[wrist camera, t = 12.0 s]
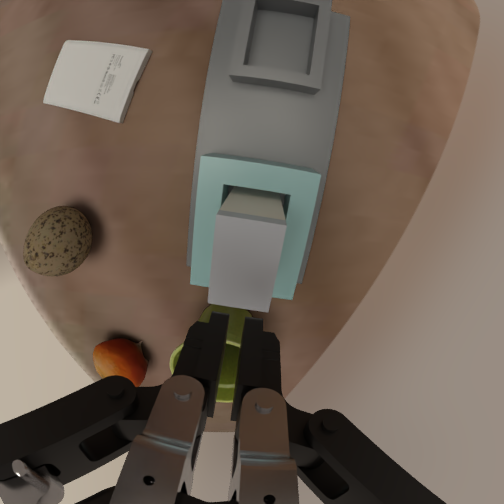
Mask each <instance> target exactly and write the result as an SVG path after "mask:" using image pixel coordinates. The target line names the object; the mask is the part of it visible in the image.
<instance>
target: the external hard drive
mask: <svg viewBox="0 0 504 504" xmlns="http://www.w3.org/2000/svg"><path fill="white" fill-rule="evenodd" d="M151 53H152V51H151V50H150V49H145V48H139V47H134V46H128V45H121V44H113V43H105V42H94V41H78V40H67V41H66V42H65V43H64V45H63V47H62V50H61V52H60V54H59V57H58V59H57V62H56V64H55V67H54V69H53V72H52V75H51V78H50V80H49V84H48V86H47V90H46V92H45V96H44V100H43V103H45V104H50V105H54V106H58V107H62V108H66V109H71V110H74V111H78V112H82V113H86V114H89V115H93V116H97V117H100V118H104V119H107V120H111V121H114V122H117V123H123V121H124V118H125V115H126V112H127V110H128V107H129V104H130V102H131V99H132V96H133V94H134V92H133V90H134V88H135V85H136V83H137V81H138V80H139V79H140V77H141V75H142V73H143V70H144V68H145V66H146V64H147V62H148V59H149V57H150V55H151Z"/></svg>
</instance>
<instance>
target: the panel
mask: <svg viewBox="0 0 504 504" xmlns="http://www.w3.org/2000/svg"><path fill="white" fill-rule="evenodd" d="M331 6H332V0H223V2H222V6H221V10H220V14H219V19H218V23H217V28H216V32H215V37H214V42H213V47H212V52H211V57H210V62H209V68H208V73H207V79H206V85H205V91H204V97H203V103H202V110H201V117H200V124H199V131H198V139H197V147H196V155H195V164H194V173H193V183H192V193H191V205H190V217H189V231H188V247H187V266H191V280H190V284H193V285H198V286H204V287H209V281H210V270H211V260H212V249H213V240H214V230H215V221H216V214H217V213H218V211H219V209H220V208H221V206H222V205H223V203H224V201H225V200H226V198H227V197H228V195H229V194H230V192H231V191H232V189H233V187H234V186H239V187H246V188H253V189H259V190H265V191H271V192H277V193H279V194H280V198H281V202H282V206H283V211H284V215H285V220H286V224H287V228H286V232H285V237H284V242H283V247H282V252H281V257H280V261H279V266H278V271H277V275H276V280H275V285H274V289H273V294H272V297H274V298H281V299H289V300H292V299H293V295H294V291H295V287H296V283H300V284H302V280H303V276H304V272H305V268H306V264H307V261H308V257H309V253H310V248H311V244H312V240H313V236H314V232H315V228H316V223H317V219H318V214H319V210H320V205H321V201H322V196H323V192H324V187H325V182H326V177H327V172H328V167H329V162H330V157H331V151H332V146H333V141H334V135H335V129H336V123H337V117H338V111H339V105H340V98H341V92H342V85H343V78H344V70H345V62H346V54H347V45H348V36H349V26H350V16H346V15H343V14H339V13H336V12H332V11H331Z"/></svg>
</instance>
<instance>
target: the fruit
mask: <svg viewBox="0 0 504 504" xmlns="http://www.w3.org/2000/svg"><path fill="white" fill-rule="evenodd" d="M142 342H143V340H142V341H140V342H139V343H134V342H132V341H130V340H127V339H124V338H118V339H112V340H109V341H105V342H102V343H100V344H98V345H97V346H96V347H95V349H94V352H93V361H94V365H95V368H96V370H97V372H98V373H99V375H100V376H101V377H102V378H105V377H108V376H112V375H119V376H123V377H126V378H128V379H129V380H131V381H132V382H133V384H134V385H135V387H139V386H140V385H141V383H142V382H143V380H144V378H145V375H146V371H147V366H148V361H149V360H146V359H145V358H144V356H143V353H142V349H141V343H142Z"/></svg>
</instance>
